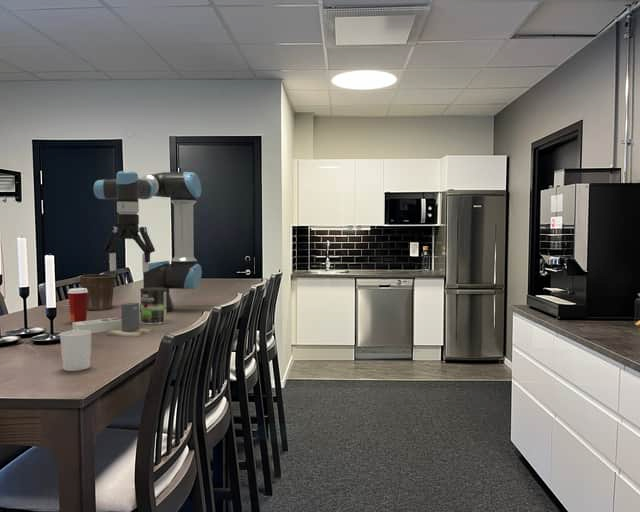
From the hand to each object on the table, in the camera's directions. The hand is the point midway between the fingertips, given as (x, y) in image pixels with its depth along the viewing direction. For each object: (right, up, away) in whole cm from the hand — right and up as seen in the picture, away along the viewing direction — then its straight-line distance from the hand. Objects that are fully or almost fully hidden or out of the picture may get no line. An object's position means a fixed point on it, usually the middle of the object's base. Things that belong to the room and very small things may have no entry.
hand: (129, 271), depth 190 cm
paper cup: (-28, -22, +19) cm, 40 cm away
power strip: (-12, -23, +4) cm, 27 cm away
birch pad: (0, -23, 0) cm, 23 cm away
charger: (0, -22, 0) cm, 22 cm away
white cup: (+3, -26, -48) cm, 54 cm away
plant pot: (-36, -20, +56) cm, 69 cm away
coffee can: (+2, -22, +21) cm, 31 cm away
